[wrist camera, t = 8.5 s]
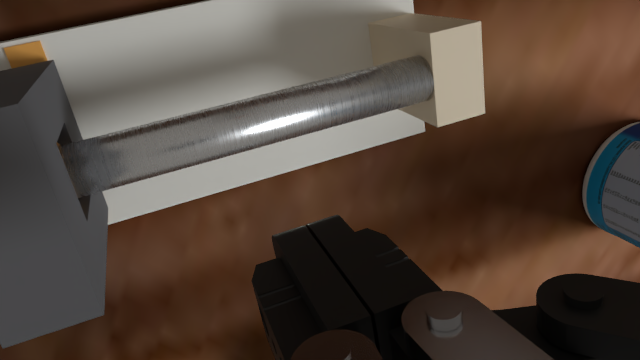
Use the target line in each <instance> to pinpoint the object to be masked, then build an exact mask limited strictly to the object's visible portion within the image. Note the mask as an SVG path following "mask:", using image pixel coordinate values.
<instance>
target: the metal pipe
mask: <svg viewBox="0 0 640 360" xmlns="http://www.w3.org/2000/svg"><path fill="white" fill-rule="evenodd" d="M433 92H434V79H433V74H432V71H431V68H430V66H429V64H428V62H427V61H426V59H425V58H424V57H422V56H420V55H416V56H412V57H408V58H404V59H400V60H396V61H392V62H388V63H385V64H381V65H377V66H373V67H369V68H365V69H361V70H357V71H353V72H349V73H345V74H341V75H337V76H333V77H329V78H325V79H321V80H317V81H313V82H309V83H306V84H302V85H298V86H294V87H290V88H286V89H282V90H278V91H274V92H270V93H266V94H262V95H258V96H254V97H250V98H246V99H242V100H238V101H234V102H231V103H227V104H223V105H219V106H215V107H211V108H207V109H203V110H199V111H195V112H191V113H187V114H183V115H179V116H175V117H171V118H167V119H163V120H159V121H155V122H152V123H148V124H144V125H140V126H136V127H132V128H128V129H124V130H120V131H116V132H112V133H108V134H104V135H100V136H96V137H92V138H88V139H84V140H80V141H77V142H73V143H69V144H65V145H60V144H59V143H58V142H57V143H56V144H57V146H58V149H59V151H60V154H61V156H62V159H63V161H64V164H65V167H66V169H67V172H68V174H69V177H70V179H71V182H72V184H73V187H74V190H75V192H76V195H77V197H78V198H80V197H84V196H87V195H91V194H94V193H98V192H102V191H105V190H109V189H112V188H116V187H120V186H123V185H127V184H130V183H134V182H138V181H141V180H145V179H148V178H152V177H156V176H159V175H163V174H166V173H170V172H173V171H177V170H181V169H184V168H188V167H191V166H195V165H199V164H202V163H206V162H209V161H213V160H217V159H220V158H224V157H227V156H231V155H235V154H238V153H242V152H245V151H249V150H252V149H256V148H260V147H263V146H267V145H270V144H274V143H278V142H281V141H285V140H288V139H292V138H296V137H299V136H303V135H306V134H310V133H314V132H317V131H321V130H324V129H328V128H331V127H335V126H339V125H342V124H346V123H349V122H353V121H357V120H360V119H364V118H367V117H371V116H375V115H378V114H382V113H385V112H389V111H393V110H396V109H400V108H403V107H407V106H411V105H414V104H418V103H421V102H425V101H428V100H430V99H431V97H432V95H433Z"/></svg>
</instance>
